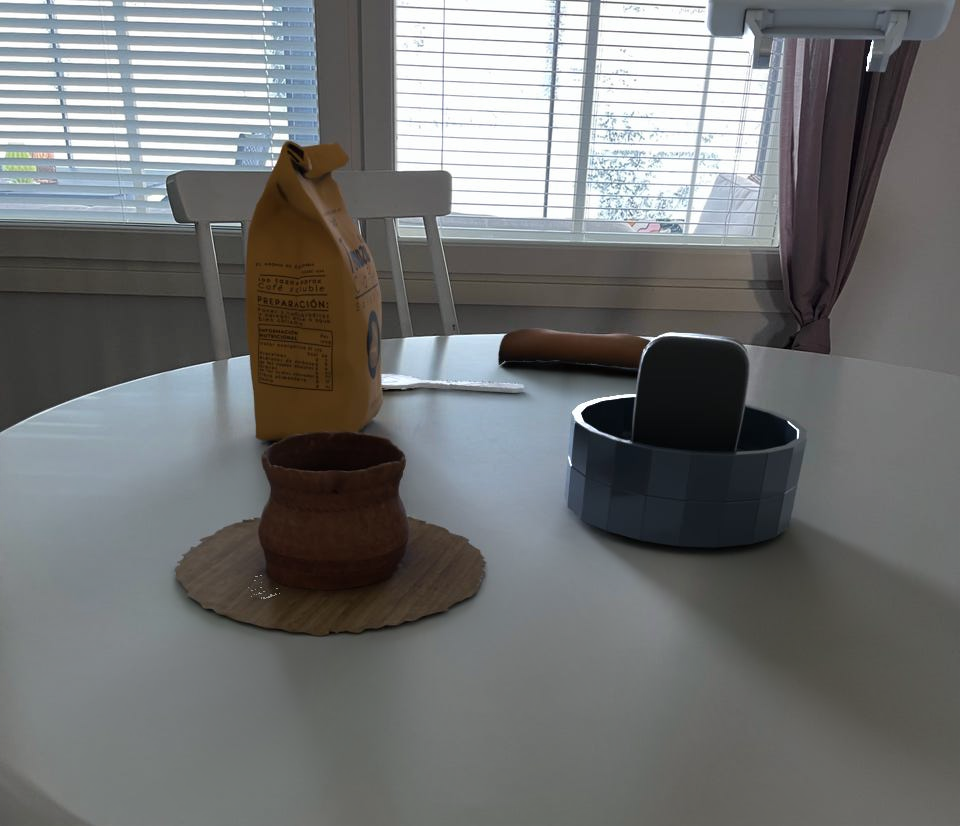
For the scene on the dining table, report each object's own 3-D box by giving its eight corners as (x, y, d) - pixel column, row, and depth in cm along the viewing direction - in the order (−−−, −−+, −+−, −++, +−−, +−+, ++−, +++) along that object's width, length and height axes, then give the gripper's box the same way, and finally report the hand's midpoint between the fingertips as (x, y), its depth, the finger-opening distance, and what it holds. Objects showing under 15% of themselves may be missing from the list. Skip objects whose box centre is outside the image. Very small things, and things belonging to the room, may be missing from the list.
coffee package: (401, 418, 85) (400, 144, 75) (352, 456, 74) (344, 142, 64) (298, 408, 87) (284, 139, 76) (237, 443, 76) (210, 136, 66)
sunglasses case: (660, 361, 110) (665, 315, 105) (653, 404, 107) (658, 358, 101) (510, 350, 113) (507, 304, 108) (499, 391, 110) (495, 345, 104)
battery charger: (728, 503, 65) (757, 334, 60) (725, 521, 62) (755, 344, 57) (629, 491, 67) (648, 325, 62) (621, 507, 64) (640, 334, 59)
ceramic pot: (550, 574, 55) (560, 457, 51) (296, 672, 44) (288, 530, 40) (360, 494, 66) (358, 394, 63) (120, 556, 55) (101, 437, 52)
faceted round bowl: (754, 483, 72) (770, 398, 69) (818, 560, 58) (840, 458, 55) (557, 476, 72) (564, 390, 68) (575, 551, 58) (584, 449, 55)
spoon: (523, 396, 94) (523, 391, 94) (345, 387, 94) (345, 381, 94) (524, 384, 98) (524, 379, 98) (354, 376, 99) (354, 370, 99)
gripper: (716, -93, 81) (695, 27, 78) (968, -96, 77) (959, 30, 73) (710, -22, 87) (690, 92, 83) (944, -21, 83) (934, 99, 79)
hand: (818, 63), depth 78 cm, fingers open, 8 cm apart
